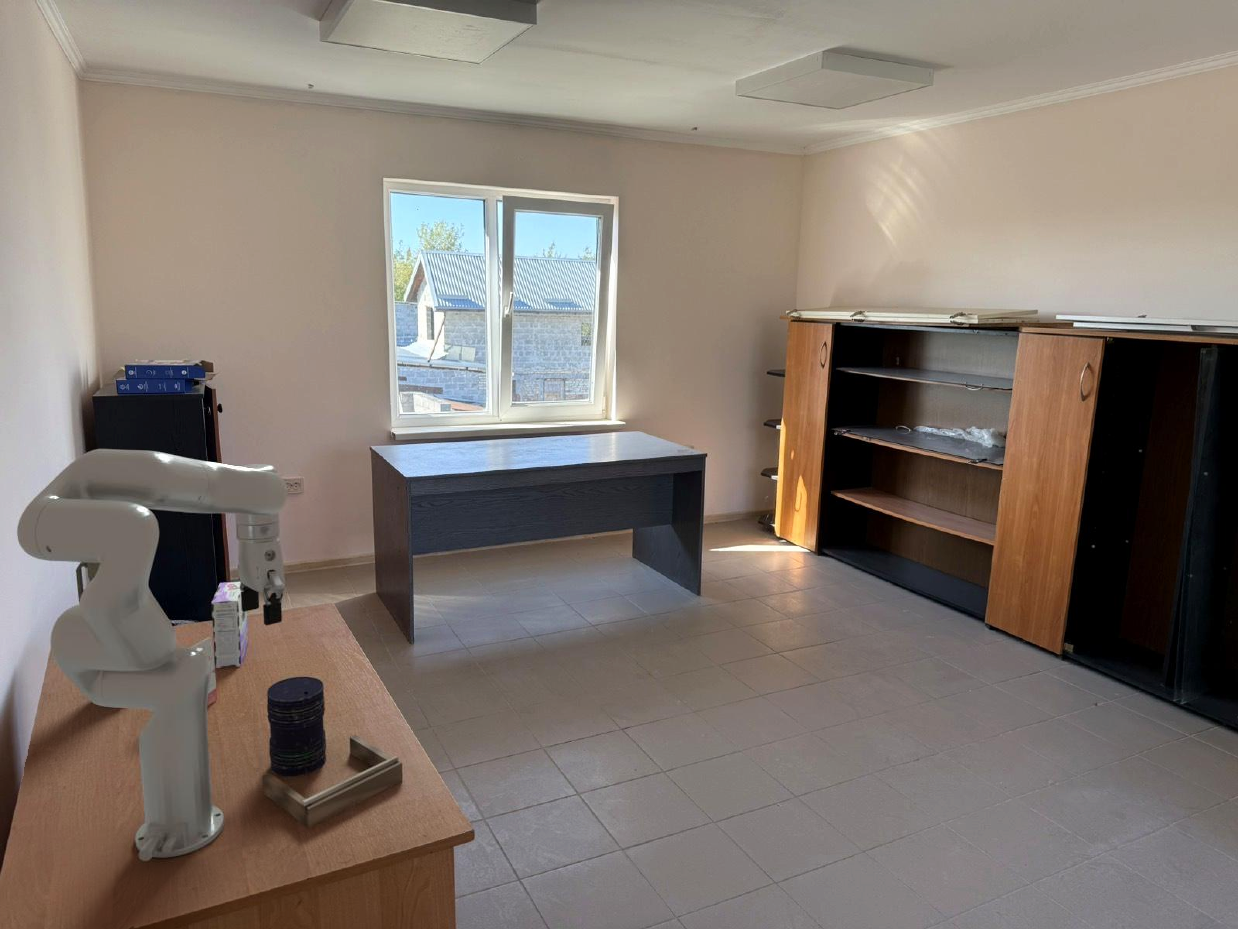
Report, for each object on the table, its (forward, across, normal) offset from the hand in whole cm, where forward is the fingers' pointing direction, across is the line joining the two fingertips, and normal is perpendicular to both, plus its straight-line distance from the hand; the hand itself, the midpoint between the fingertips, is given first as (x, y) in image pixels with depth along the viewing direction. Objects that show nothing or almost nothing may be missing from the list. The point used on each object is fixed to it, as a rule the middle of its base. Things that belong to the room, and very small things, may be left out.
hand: (261, 616), depth 157 cm
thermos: (+25, +37, +15) cm, 47 cm away
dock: (+25, -24, -1) cm, 35 cm away
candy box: (+24, +41, -10) cm, 49 cm away
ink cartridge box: (+25, +21, +6) cm, 33 cm away
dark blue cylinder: (+25, -13, 0) cm, 28 cm away
